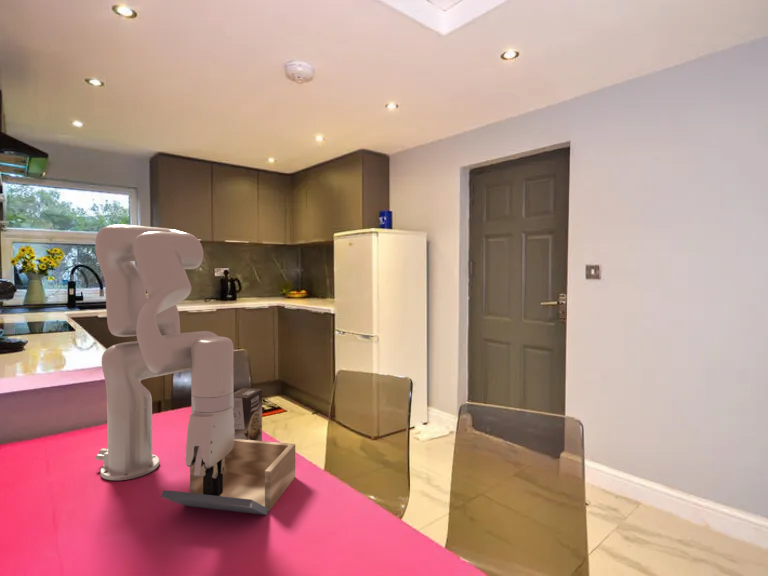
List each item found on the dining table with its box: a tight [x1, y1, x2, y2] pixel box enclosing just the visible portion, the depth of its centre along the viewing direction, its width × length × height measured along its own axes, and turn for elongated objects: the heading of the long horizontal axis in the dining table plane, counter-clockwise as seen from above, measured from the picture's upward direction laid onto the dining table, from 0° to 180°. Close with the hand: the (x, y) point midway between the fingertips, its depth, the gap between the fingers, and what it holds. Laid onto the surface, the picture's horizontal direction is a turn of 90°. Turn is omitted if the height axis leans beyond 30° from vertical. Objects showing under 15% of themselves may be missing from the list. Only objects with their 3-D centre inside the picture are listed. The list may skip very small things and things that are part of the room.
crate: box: [189, 439, 296, 511], centre depth 97 cm, size 18×14×9 cm
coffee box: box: [233, 387, 263, 441], centre depth 119 cm, size 9×6×16 cm
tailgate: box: [160, 489, 271, 516], centre depth 85 cm, size 18×1×11 cm
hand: (213, 494), depth 84 cm, fingers closed
